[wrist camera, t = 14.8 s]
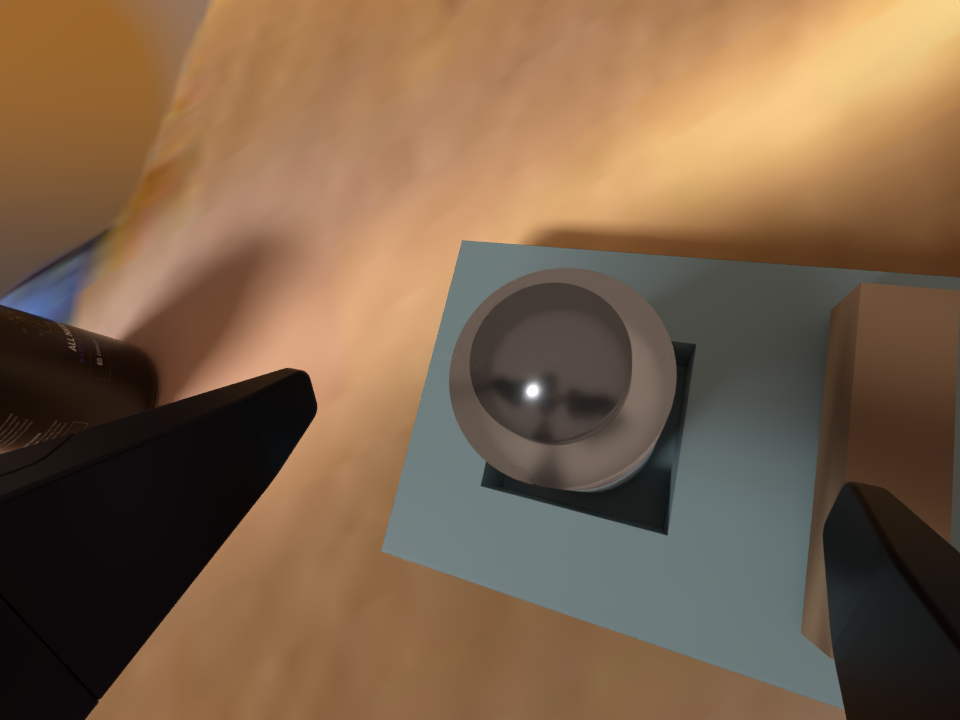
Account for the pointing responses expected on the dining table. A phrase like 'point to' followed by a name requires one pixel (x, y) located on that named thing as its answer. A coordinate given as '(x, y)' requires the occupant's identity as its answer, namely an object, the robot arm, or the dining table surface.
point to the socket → (660, 468)
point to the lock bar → (885, 415)
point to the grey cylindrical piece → (564, 380)
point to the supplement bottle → (65, 379)
